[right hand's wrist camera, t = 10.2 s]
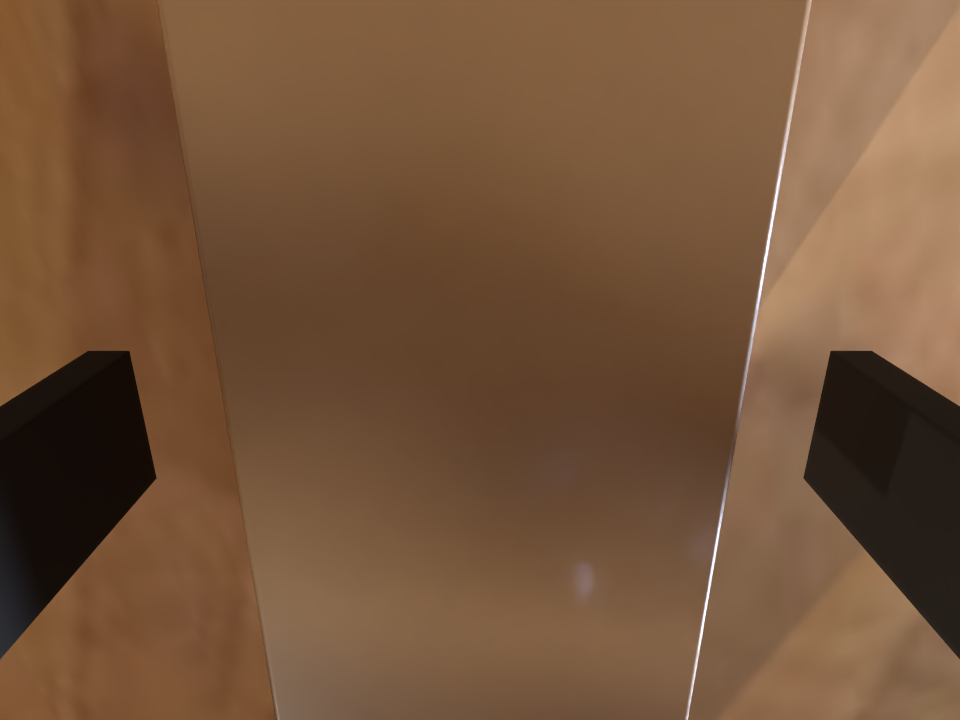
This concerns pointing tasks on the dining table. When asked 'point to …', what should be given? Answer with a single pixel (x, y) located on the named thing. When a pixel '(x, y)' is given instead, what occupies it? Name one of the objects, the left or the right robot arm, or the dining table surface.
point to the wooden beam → (483, 332)
